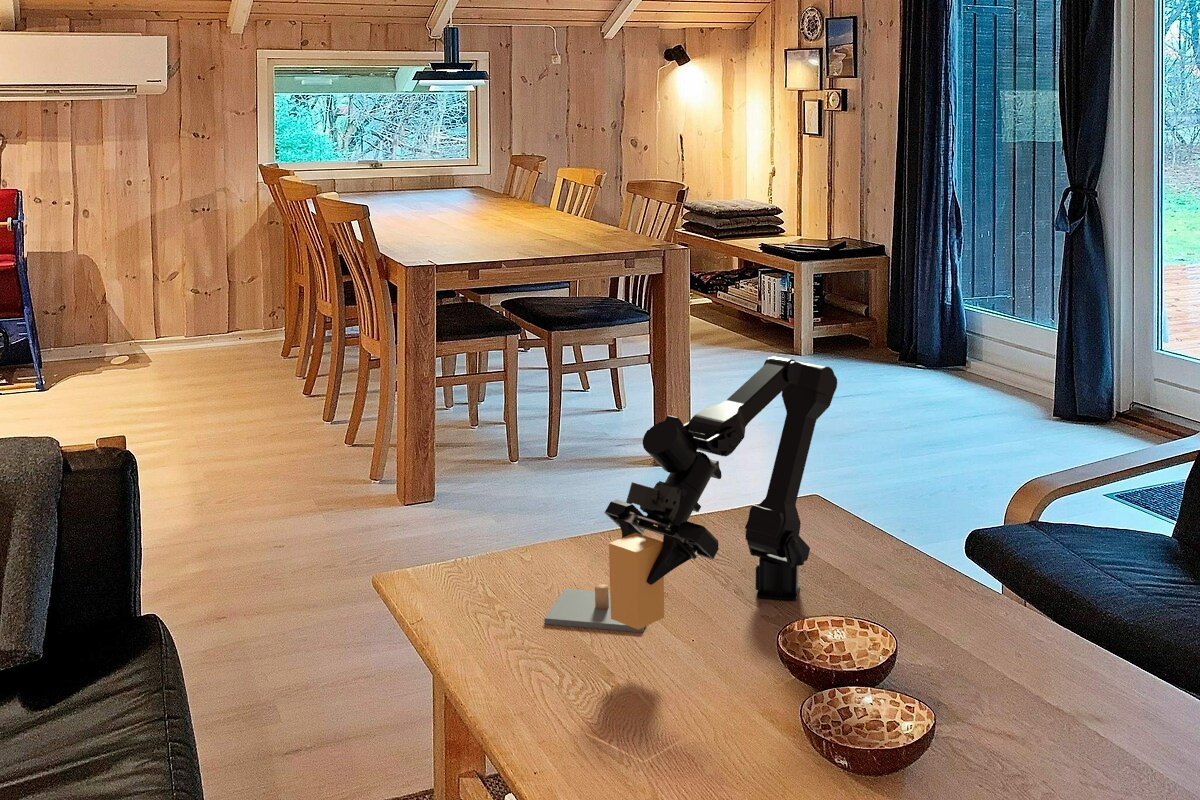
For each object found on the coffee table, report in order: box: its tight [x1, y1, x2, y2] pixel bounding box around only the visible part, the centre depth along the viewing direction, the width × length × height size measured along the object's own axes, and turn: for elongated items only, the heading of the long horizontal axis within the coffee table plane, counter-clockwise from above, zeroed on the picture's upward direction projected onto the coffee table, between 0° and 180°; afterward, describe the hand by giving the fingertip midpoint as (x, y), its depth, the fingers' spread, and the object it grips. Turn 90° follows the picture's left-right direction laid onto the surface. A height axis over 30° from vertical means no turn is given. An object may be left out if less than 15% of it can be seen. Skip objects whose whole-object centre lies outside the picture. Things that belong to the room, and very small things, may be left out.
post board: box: [543, 583, 646, 633], centre depth 210 cm, size 16×12×4 cm
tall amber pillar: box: [608, 533, 665, 630], centre depth 190 cm, size 6×6×12 cm
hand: (633, 578), depth 189 cm, fingers closed on tall amber pillar, 6 cm apart
